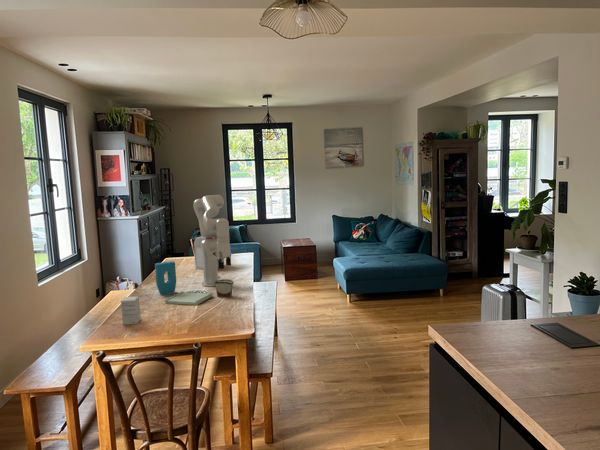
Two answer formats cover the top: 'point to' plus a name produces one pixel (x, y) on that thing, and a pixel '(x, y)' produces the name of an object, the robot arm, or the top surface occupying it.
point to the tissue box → (199, 253)
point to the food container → (224, 288)
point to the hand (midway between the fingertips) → (225, 267)
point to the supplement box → (130, 310)
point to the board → (188, 298)
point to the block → (160, 282)
